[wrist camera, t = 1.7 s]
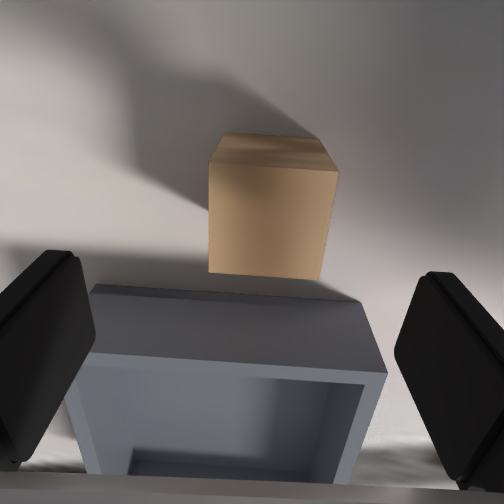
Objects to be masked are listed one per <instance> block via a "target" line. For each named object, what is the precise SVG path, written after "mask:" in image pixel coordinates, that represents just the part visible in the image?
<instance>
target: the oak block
mask: <svg viewBox="0 0 504 504" xmlns="http://www.w3.org/2000/svg"><path fill="white" fill-rule="evenodd" d="M338 175H339V171H338V169H337V167H336V166H335V164H334V163H333V161H332V159H331V158H330V156H329V154H328V153H327V151H326V150H325V148H324V146H323V145H322V143H321V141H320V140H319V139H314V138H300V137H285V136H271V135H256V134H242V133H227V132H225V133H224V135H223V137H222V138H221V140H220V142H219V144H218V146H217V148H216V150H215V152H214V153H213V155H212V157H211V159H210V161H209V272H210V273H224V274H238V275H253V276H267V277H281V278H296V279H310V280H319V277H320V272H321V267H322V261H323V256H324V250H325V245H326V240H327V234H328V229H329V224H330V218H331V213H332V208H333V202H334V197H335V192H336V186H337V181H338Z"/></svg>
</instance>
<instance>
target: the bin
mask: <svg viewBox="0 0 504 504" xmlns="http://www.w3.org/2000/svg"><path fill="white" fill-rule="evenodd" d="M88 298H89V303H90V307H91V312H92V317H93V321H94V326H95V331H96V337H95V342H94V344H93V346H92V348H91V350H90V352H89V353H88V355H87V357H86V359H85V361H84V362H83V364H82V366H81V368H80V370H79V371H78V373H77V375H76V377H75V379H74V381H73V382H72V384H71V386H70V388H69V390H68V391H67V393H66V395H65V397H64V401H65V404H66V407H67V410H68V414H69V417H70V420H71V423H72V426H73V430H74V433H75V436H76V439H77V442H78V445H79V449H80V452H81V455H82V458H83V461H84V465H85V468H86V471H87V474H104V475H130V476H157V477H183V478H207V479H230V480H254V481H277V482H300V483H323V484H344V485H347V484H348V482H349V479H350V476H351V473H352V471H353V468H354V465H355V462H356V460H357V457H358V454H359V451H360V449H361V446H362V443H363V441H364V438H365V435H366V432H367V430H368V427H369V424H370V421H371V419H372V416H373V413H374V410H375V408H376V405H377V402H378V399H379V397H380V394H381V391H382V388H383V386H384V383H385V380H386V377H387V375H388V372H387V369H386V366H385V364H384V361H383V359H382V356H381V353H380V351H379V348H378V345H377V343H376V340H375V338H374V335H373V332H372V330H371V327H370V325H369V322H368V319H367V317H366V314H365V311H364V309H363V306H362V304H361V303H358V302H344V301H329V300H315V299H301V298H286V297H272V296H258V295H243V294H229V293H215V292H200V291H186V290H171V289H157V288H143V287H128V286H114V285H100V284H96V285H95V287H94V288H93V289H92V291H91V292H90V293H89V295H88Z"/></svg>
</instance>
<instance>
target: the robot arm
mask: <svg viewBox="0 0 504 504" xmlns="http://www.w3.org/2000/svg"><path fill="white" fill-rule="evenodd" d="M95 337H96V331H95V326H94V321H93V317H92V312H91V307H90V303H89V298H88V294H87V289H86V284H85V280H84V275H83V271H82V266H81V262H80V259H79V258H78V257H74V255H73V253H72V252H71V251H61V250H46V251H45V252H43V253H42V254H41V255H40V256H39V257H38V258H37V259H36V260H35V261H34V262H33V263H32V264H31V265H30V266H29V267H28V268H27V269H26V270H24V271H23V272H22V273H21V274H20V275H19V276H18V277H17V278H16V279H15V280H14V281H13V282H12V283H11V284H10V285H9V286H8V287H7V288H6V289H4V290H3V291H2V292H1V293H0V504H504V330H503V329H502V327H501V326H500V325H499V324H498V323H497V322H496V321H495V320H494V318H493V317H492V316H491V315H490V314H489V313H488V312H487V311H486V309H485V308H484V307H483V306H482V305H481V304H480V303H479V301H478V300H477V299H476V298H475V297H474V296H473V295H472V294H471V292H470V291H469V290H468V289H467V288H466V287H465V286H464V285H463V283H462V282H461V281H460V280H459V279H458V278H457V277H456V276H455V275H454V274H453V273H450V272H433V271H430V272H428V273H427V274H426V275H425V276H422V277H421V278H420V279H419V281H418V283H417V286H416V289H415V292H414V294H413V297H412V300H411V303H410V305H409V308H408V311H407V314H406V317H405V319H404V322H403V325H402V328H401V330H400V333H399V336H398V339H397V341H396V344H395V347H394V356H395V360H396V362H397V364H398V367H399V369H400V371H401V373H402V375H403V378H404V380H405V382H406V384H407V387H408V389H409V391H410V393H411V395H412V398H413V400H414V402H415V404H416V406H417V409H418V411H419V413H420V415H421V418H422V420H423V422H424V424H425V426H426V429H427V431H428V433H429V435H430V438H431V440H432V442H433V444H434V446H435V449H436V451H437V453H438V455H439V457H440V460H441V462H442V464H443V466H444V469H445V471H446V473H447V475H448V476H449V477H450V479H452V480H455V481H456V483H457V485H458V487H459V489H460V490H448V489H427V488H406V487H386V486H365V485H344V484H323V483H300V482H277V481H254V480H230V479H207V478H183V477H157V476H130V475H104V474H77V473H50V472H17V470H18V468H19V466H20V465H21V463H22V462H26V461H28V460H29V459H30V458H31V456H32V454H33V453H34V451H35V449H36V447H37V446H38V444H39V442H40V440H41V438H42V437H43V435H44V433H45V431H46V429H47V428H48V426H49V424H50V422H51V420H52V418H53V417H54V415H55V413H56V411H57V409H58V408H59V406H60V404H61V402H62V400H63V399H64V397H65V395H66V393H67V391H68V390H69V388H70V386H71V384H72V382H73V381H74V379H75V377H76V375H77V373H78V371H79V370H80V368H81V366H82V364H83V362H84V361H85V359H86V357H87V355H88V353H89V352H90V350H91V348H92V346H93V344H94V342H95Z"/></svg>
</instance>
